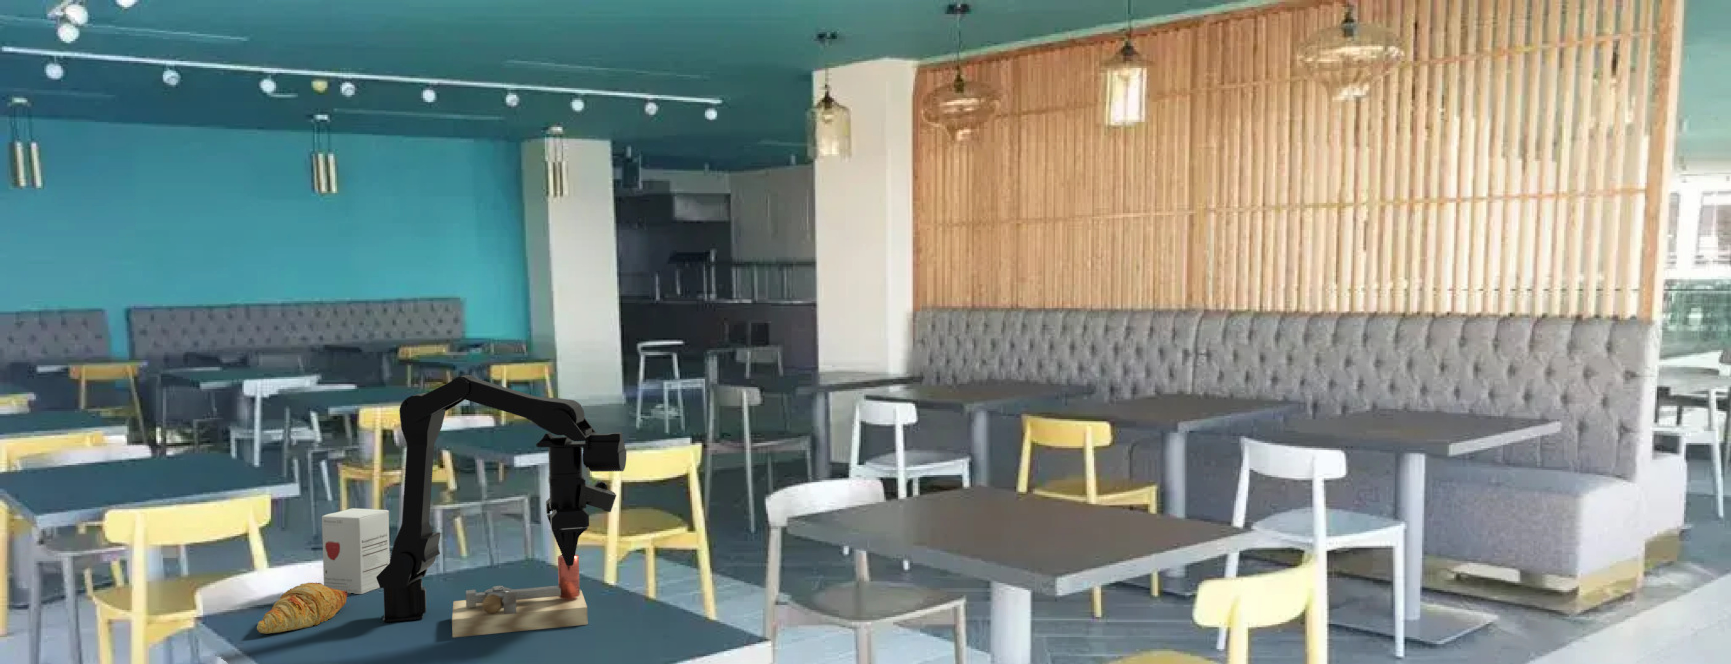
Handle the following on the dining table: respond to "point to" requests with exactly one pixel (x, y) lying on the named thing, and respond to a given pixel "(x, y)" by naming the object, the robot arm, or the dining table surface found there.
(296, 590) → the croissant
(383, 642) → the dining table surface
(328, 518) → the supplement box
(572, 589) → the lever
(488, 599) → the walnut
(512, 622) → the block
